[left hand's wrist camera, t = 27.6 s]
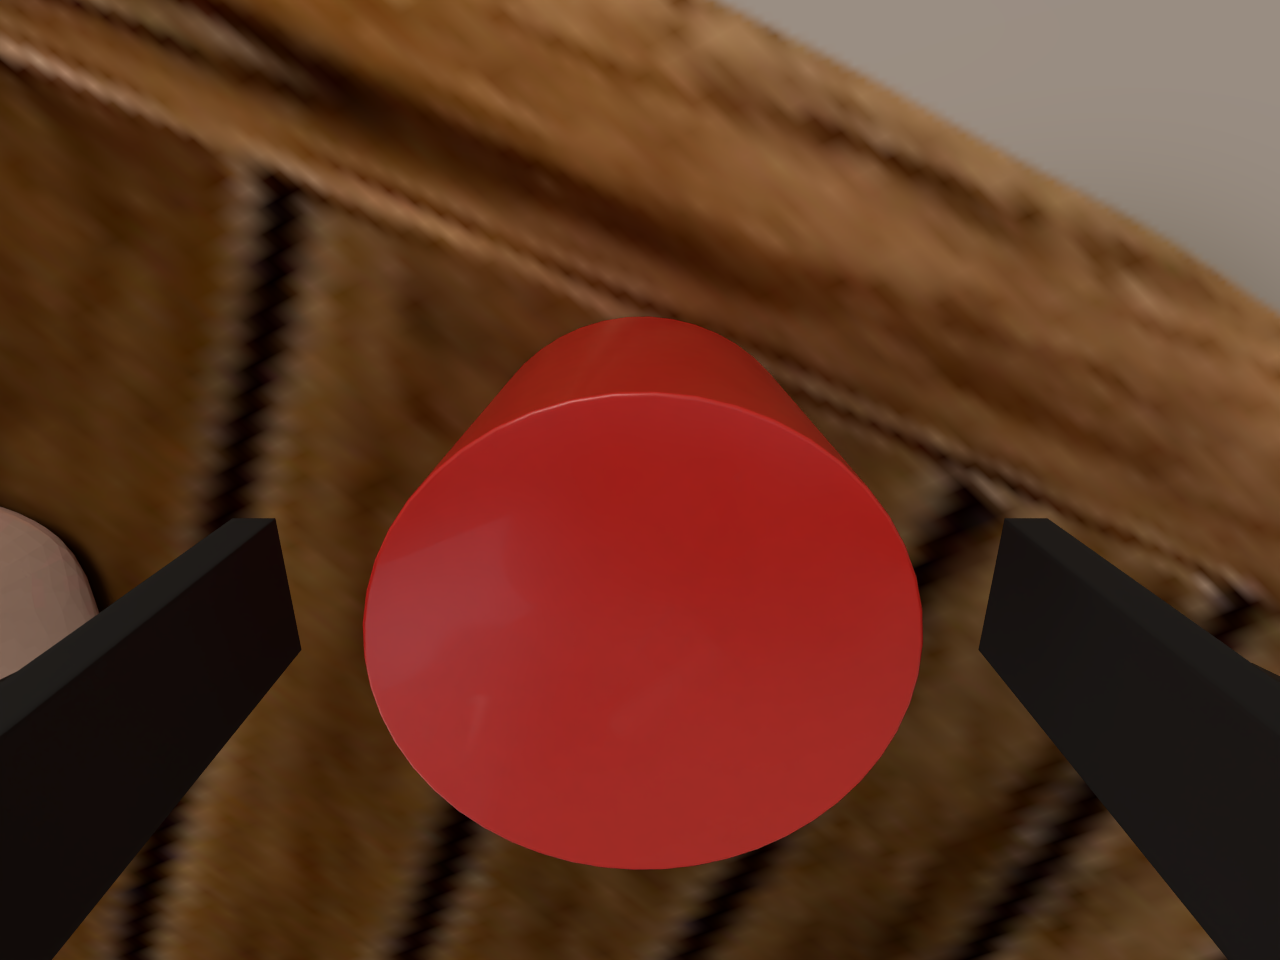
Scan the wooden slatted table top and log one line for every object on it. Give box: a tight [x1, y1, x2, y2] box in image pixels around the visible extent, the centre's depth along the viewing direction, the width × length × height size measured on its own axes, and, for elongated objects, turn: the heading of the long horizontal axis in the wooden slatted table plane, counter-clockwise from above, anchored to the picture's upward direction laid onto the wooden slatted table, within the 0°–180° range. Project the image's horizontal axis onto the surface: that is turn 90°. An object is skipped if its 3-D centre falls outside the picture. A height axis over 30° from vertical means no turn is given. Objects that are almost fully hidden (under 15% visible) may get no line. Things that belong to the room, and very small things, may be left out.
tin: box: [363, 317, 923, 870], centre depth 14 cm, size 8×8×8 cm
